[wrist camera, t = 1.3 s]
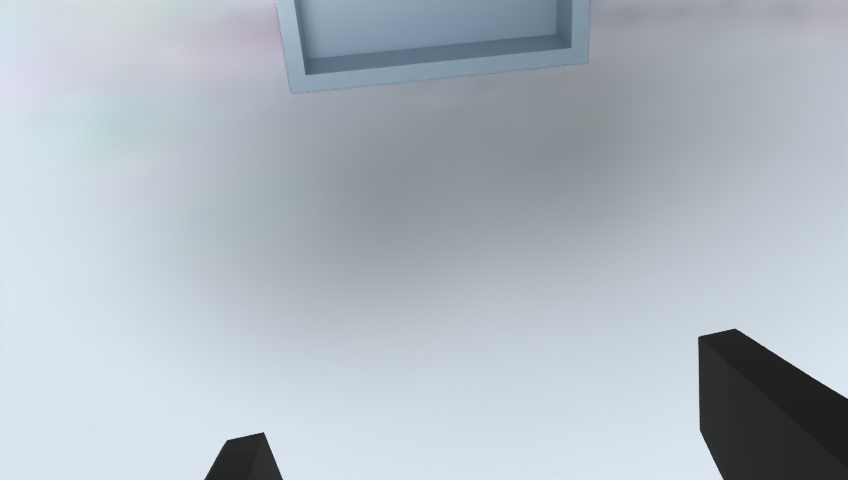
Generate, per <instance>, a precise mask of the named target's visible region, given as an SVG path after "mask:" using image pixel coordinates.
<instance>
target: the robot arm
mask: <svg viewBox="0 0 848 480" xmlns="http://www.w3.org/2000/svg"><path fill="white" fill-rule="evenodd" d="M698 346H699V410H700V431H701V434H702V436H703V438H704V440H705V442H706V444H707V446H708V449H709V451H710V453H711V455H712V457H713V459H714V461H715V463H716V465H717V467H718V469H719V472H720V474H721V476H722V478H723V480H848V399H847V398H845V397H844V396H842V395H840V394H839V393H837V392H835V391H834V390H832V389H830V388H829V387H827V386H825V385H824V384H822V383H820V382H819V381H817V380H816V379H814V378H812V377H811V376H809V375H808V374H806V373H804V372H803V371H801V370H800V369H798V368H796V367H795V366H793V365H792V364H790V363H789V362H787V361H785V360H784V359H782V358H781V357H779V356H778V355H776V354H774V353H773V352H771V351H770V350H768V349H767V348H765V347H764V346H762V345H760V344H759V343H757V342H756V341H754V340H753V339H751V338H750V337H748V336H746V335H745V334H743V333H742V332H740V331H738V330H737V329H731V330H727V331H722V332H718V333H713V334H709V335H704V336H700V337H698ZM205 480H283V479H282V476H281V474H280V471H279V469H278V466H277V464H276V461H275V459H274V456H273V454H272V451H271V449H270V446H269V444H268V441H267V439H266V436H265V434H264V432H263V433H258V434H254V435H249V436H245V437H240V438H235V439H231V440H227V441H226V443H225V444H224V446H223V447H222V449H221V451H220V453H219V454H218V456H217V458H216V460H215V462H214V463H213V465H212V467H211V469H210V471H209V473H208V474H207V476H206V478H205Z"/></svg>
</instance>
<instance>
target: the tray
mask: <svg viewBox="0 0 848 480" xmlns="http://www.w3.org/2000/svg"><path fill="white" fill-rule="evenodd" d="M275 2H276V8H277V14H278V20H279V26H280V32H281V38H282V44H283V50H284V56H285V62H286V68H287V74H288V80H289V86H290V92H291V94H297V93H306V92H316V91H326V90H335V89H345V88H354V87H364V86H374V85H383V84H393V83H403V82H412V81H422V80H432V79H441V78H451V77H461V76H470V75H480V74H490V73H499V72H509V71H518V70H528V69H538V68H547V67H557V66H567V65H576V64H586V63H588V44H589V11H590V0H275Z"/></svg>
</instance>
